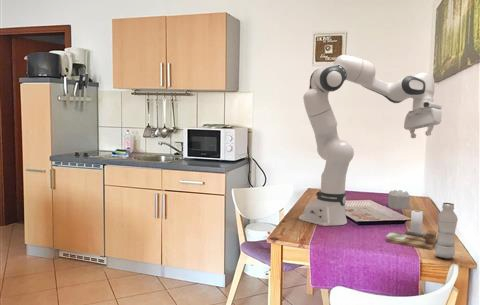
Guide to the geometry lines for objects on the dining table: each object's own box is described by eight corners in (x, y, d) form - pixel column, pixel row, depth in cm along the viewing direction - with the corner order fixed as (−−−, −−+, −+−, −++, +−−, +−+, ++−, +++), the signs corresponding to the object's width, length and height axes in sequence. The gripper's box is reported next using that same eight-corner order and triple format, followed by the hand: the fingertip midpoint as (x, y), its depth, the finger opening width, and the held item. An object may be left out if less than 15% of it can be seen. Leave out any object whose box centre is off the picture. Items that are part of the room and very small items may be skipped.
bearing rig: (383, 241, 176) (384, 228, 176) (391, 234, 186) (392, 222, 185) (431, 250, 166) (432, 236, 166) (437, 242, 176) (438, 229, 176)
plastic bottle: (435, 253, 163) (439, 200, 160) (455, 256, 159) (459, 203, 157) (433, 258, 157) (436, 204, 155) (453, 262, 154) (458, 206, 152)
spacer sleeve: (409, 234, 186) (410, 211, 185) (411, 232, 189) (412, 209, 188) (420, 236, 183) (421, 213, 182) (422, 234, 187) (424, 211, 186)
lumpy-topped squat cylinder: (390, 208, 233) (391, 192, 232) (385, 203, 246) (386, 188, 245) (410, 209, 232) (411, 193, 231) (405, 204, 244) (405, 189, 243)
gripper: (401, 110, 211) (399, 138, 209) (433, 101, 192) (431, 132, 190) (412, 113, 213) (410, 140, 211) (444, 104, 194) (442, 135, 192)
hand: (420, 136), depth 200 cm, fingers open, 8 cm apart
